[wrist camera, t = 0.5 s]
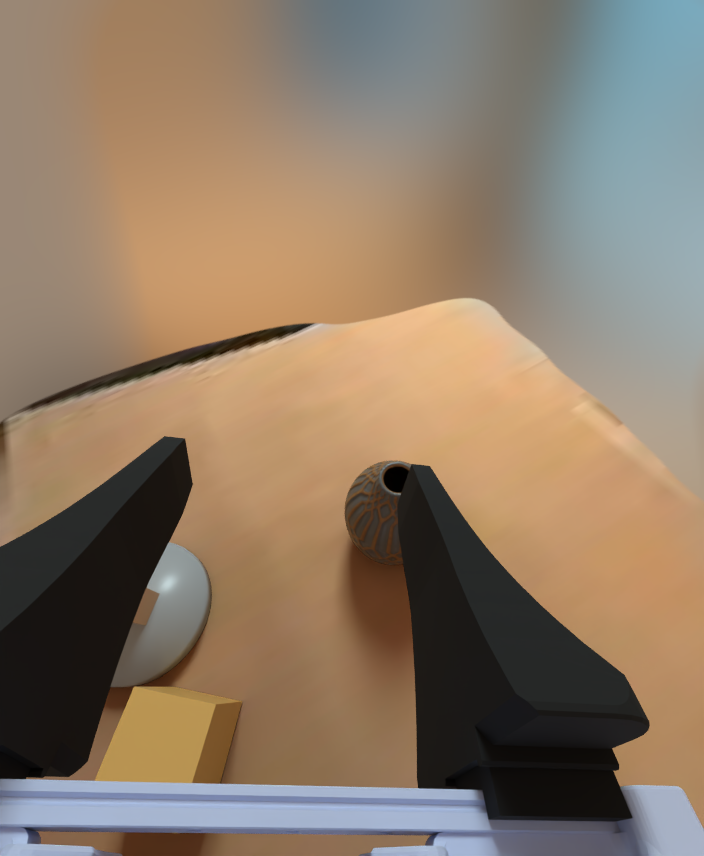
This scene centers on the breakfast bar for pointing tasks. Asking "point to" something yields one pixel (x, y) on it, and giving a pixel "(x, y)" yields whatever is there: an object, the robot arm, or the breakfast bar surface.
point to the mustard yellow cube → (171, 737)
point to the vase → (377, 511)
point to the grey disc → (166, 618)
